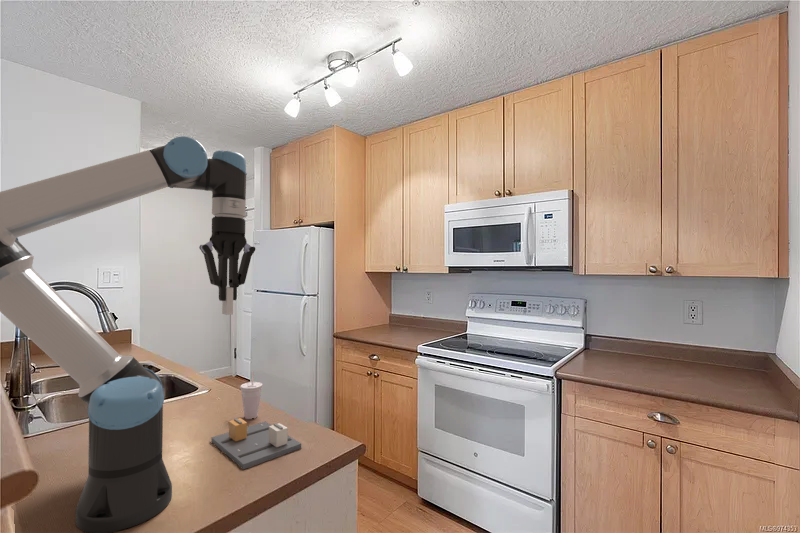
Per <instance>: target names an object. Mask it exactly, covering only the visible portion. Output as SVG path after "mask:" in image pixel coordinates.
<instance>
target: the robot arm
mask: <svg viewBox="0 0 800 533" xmlns="http://www.w3.org/2000/svg"><path fill="white" fill-rule="evenodd" d="M244 156H245V155H242V154H241V153H239V152H236V151H232V150H216V151H214V152H213V153H212V157H211V158H208V153H207V150H206V148H205V147H204V146H203V145H202V143H201V142H199V141H198V140H197V139H194V138H193V137H189V136H182V135H181V136H177V137H174V138H172V139H171V140H169V141H168V142H167V143H165V145H161V146H158V147H155V148H152V149H147V150H144V151H140V152H137V153H133V154H129V155H126V156H122V157H119V158H116V159H113V160H109V161H106V162H105V161H104V162H102V163H98V164H94V165H90V166H88V167H83V168H80V169H76V170H73V171H69V172H66V173H62V174H59V175H55V176H52V177H48V178H44V179H41V180H37V181H35V182H30V183H27V184H24V185H20V186H16V187H13V188H9V189H5V190H2V191H0V313H1V314H2V315H3V316H4V317H5V318H6V319H7V320H9V321H10V322H11V323H12V324H13V325H14V327H16V328H18V330H19V331H21V332H22V334H24V335H25V336H26V337H27V338H29V340H30V341H31V342H32V343H33V344H35V345H36V346H37V347H38V348H39V349H40V350H41V351H42V352H44V353H45V355H47V356H48V357H49V358H50V359H51V360H52V361H53V362H54V363H56V364H57V366H58V367H60V368H61V369H62V370H63V371H64V372H65V373H66V374H67V375H69V377H71V378H72V379H73V380H74V381H75V382H76V383H77V384H78V386H79V387H78V388H79V390H78V397H79V398H80V399H81V400H82V401H83V402H84V403H85V404H86V405H87V406H88V407H87V415H88V473H87V478H86V481H85V484H84V487H83V488H82V492H81V494H80V495H79V496H80V497H79V498H78V502H77V504H76V508H75V525H76V527H77V528H78V529H79V530H81V531H82V532H86V533H113V532H119V531H123V530H126V529H129V528H133V527H135V526H137V525H140V524H142V523H145V522H146V521H148V520H150V519H152V518H154V517H155V516H156V515H158V514H159V513H161V512H162V511H164V509H165V508H166V507H167V506H168V505H169V504H170V503H171V500H172V499H173V498H172V497H173V484H172V480H171V478H170V475H169V472H168V470H167V467H166V464H165V463H164V460H163V435H164V434H163V432H164V431H163V428H164V427H163V426H164V425H163V423H164V422H163V421H164V418H163V417H164V415H163V414H164V403H165V402H164V401H165V393H164V391H165V390H164V385H163V383H162V380H161V378H160V377H159V376H158V374H156V372H154V371H153V370H151V369H149V368H147V367H144V366H143V365H142V364H141V363H140V362H139V361H138V360H137V359H136V358H135V357H134V356H133V355H128V354H127V355H124V354H120V353H118V351H116V349H114V348H113V346H112V345H110V344H109V343H108V342H107V340H106V339H104V338H103V336H101V334H99V333H98V332H97V331H96V329H95V328H93V327H92V326H91V325H90V324H89V322H87V321H86V320H85V319H84V318H83V317H82V315H80V314H79V312H77V311H76V310H75V309H74V308H73V307H72V306H71V305H70V304H69V303H68V302H67V300H65V299H64V298H63V297H62V296H61V295H60V294H59V293H58V292H57V291H56V290H55V289H54V288H53V287H52V286H51V285H50V284H49V283H48V282H47V281H46V280H45V279H44V278H43V277H42V276H41V275H40V274H39V273H38V272H37V271H36V270H35V269H34V268H33V263H34V256H33V254H32V253H31V252H30V251H29V250H27V249H26V248H25V246H23V245H22V243H21V242H20V241H19V237H22V236H25V235H28V234H31V233H34V232H37V231H40V230H43V229H47V228H50V227H52V226H55V225H58V224H60V223H64V222H68V221H70V220H73V219H76V218H79V217H81V216H82V217H83V216H85V215H88V214H91V213H94V212H97V211H100V210H103V209H105V208H106V209H107V208H109V207H112V206H115V205H118V204H121V203H124V202H126V201H130V200H133V199H135V198H139V197H142V196H145V195H148V194H151V193H153V192H156V191H159V190H162V189H165V188H170V189H175V188H176V189H187V190H196V191H197V190H199V191H208V192H209V191H210V192H211V194H212V197H211V215H213V217H212V218H211V235H210V237H209V241H207V242H206V243H205V244H200V245H199V247H198V248H199V250H200V251H201V253H202V254H203V257H204V262H205V266H206V271H207V274H208V278H209V282H210V284H211V285H212V286H216V287H218V300H219V301H220V302H222V303H221V304H222V306H221V307H222V308H221V309H222V310H221V311H222V313H221V314H222V315H226V316H227V315H228V316H229V315H230V316H231V315H234V301H236V300H237V299H238V295H237V294H238V287H239V286H241V285H244V284H245V283H246V279H247V275H248V271H249V267H250V263H251V259H252V255H254V253H255V251H256V247H255V246H251V245H250V244H249V243H247V242H248V241H247V239H246V236H245V235H246V220H245V218H244V217H245V216H246V208H247V207H246V205H247V204H246V203H247V202H246V199H247V198H246V196H247V193H246V192H247V191H246V190H247V174H248V173H247V161H246V157H244ZM213 250H214V251H215V252H216V253H217V260H218V264H217V265H218V267H217V266H216V262H215V257H214V254H213ZM242 251H243V254H242V256H241V260H240V263H239V259H240V258H239V257H240V253H241V252H242ZM239 264H240V265H239ZM217 269H218V270H217Z"/></svg>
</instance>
